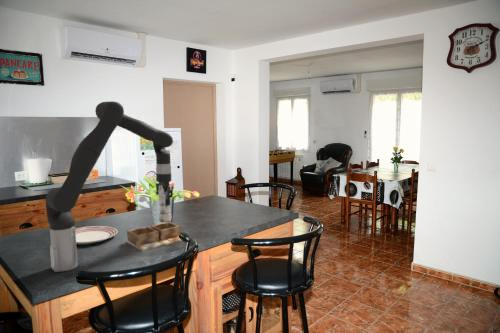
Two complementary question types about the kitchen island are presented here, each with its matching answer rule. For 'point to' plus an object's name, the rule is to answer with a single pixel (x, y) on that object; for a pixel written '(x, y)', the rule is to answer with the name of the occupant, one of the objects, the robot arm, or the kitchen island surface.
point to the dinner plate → (94, 234)
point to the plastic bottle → (164, 208)
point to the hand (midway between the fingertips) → (164, 204)
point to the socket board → (154, 236)
